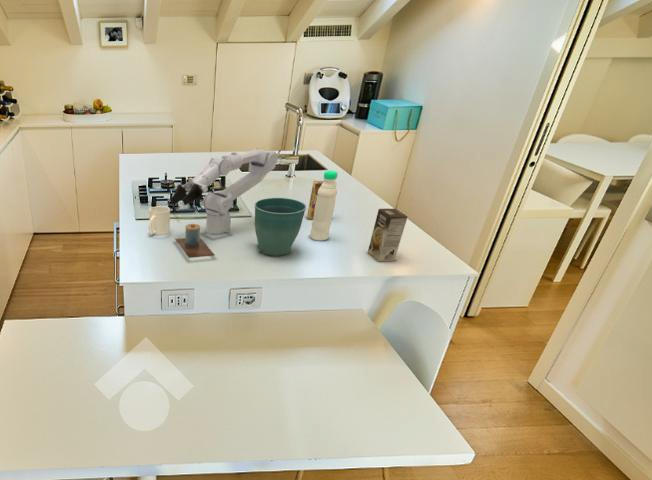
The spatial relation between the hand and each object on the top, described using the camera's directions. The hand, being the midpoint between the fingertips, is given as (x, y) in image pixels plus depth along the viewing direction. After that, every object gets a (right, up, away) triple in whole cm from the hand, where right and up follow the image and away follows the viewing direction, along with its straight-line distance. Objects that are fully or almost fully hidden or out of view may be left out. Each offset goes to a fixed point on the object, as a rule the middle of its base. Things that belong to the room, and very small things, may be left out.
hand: (177, 202), depth 186 cm
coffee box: (+74, -20, -1) cm, 77 cm away
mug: (-7, -7, +20) cm, 22 cm away
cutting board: (+7, -16, +7) cm, 19 cm away
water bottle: (+57, -9, +16) cm, 60 cm away
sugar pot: (+6, -13, +8) cm, 17 cm away
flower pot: (+37, -17, +6) cm, 41 cm away
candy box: (+64, +5, +35) cm, 73 cm away
